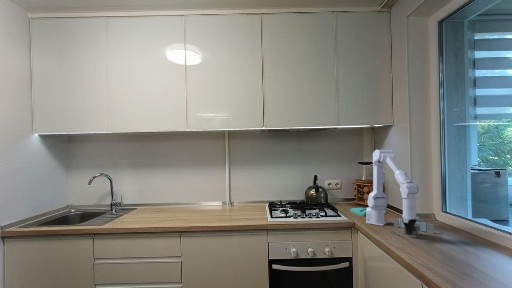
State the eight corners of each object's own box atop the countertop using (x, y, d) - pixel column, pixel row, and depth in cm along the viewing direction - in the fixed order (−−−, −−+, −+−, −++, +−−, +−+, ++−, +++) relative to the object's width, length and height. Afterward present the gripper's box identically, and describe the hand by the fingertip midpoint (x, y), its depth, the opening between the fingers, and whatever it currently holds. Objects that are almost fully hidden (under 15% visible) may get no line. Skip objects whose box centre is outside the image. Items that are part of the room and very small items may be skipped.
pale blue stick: (400, 227, 151) (400, 219, 151) (401, 226, 151) (401, 219, 151) (425, 231, 143) (425, 223, 143) (426, 231, 143) (426, 223, 143)
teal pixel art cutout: (386, 213, 186) (356, 209, 199) (386, 210, 186) (356, 206, 199) (377, 219, 171) (346, 214, 184) (377, 215, 171) (346, 210, 184)
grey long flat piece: (393, 226, 153) (393, 218, 153) (394, 226, 154) (394, 218, 154) (433, 233, 140) (433, 224, 140) (433, 233, 141) (433, 224, 141)
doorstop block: (404, 234, 139) (404, 224, 140) (407, 232, 143) (406, 222, 143) (418, 236, 135) (417, 226, 136) (420, 234, 139) (420, 224, 139)
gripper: (415, 210, 127) (415, 239, 127) (421, 205, 138) (421, 232, 137) (398, 208, 132) (398, 236, 131) (406, 203, 142) (406, 229, 142)
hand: (409, 234), depth 135 cm, fingers closed
